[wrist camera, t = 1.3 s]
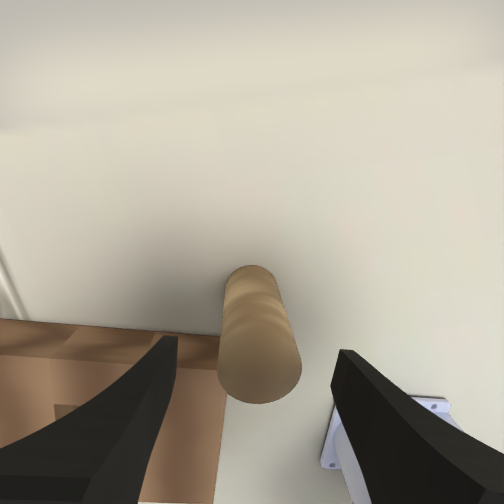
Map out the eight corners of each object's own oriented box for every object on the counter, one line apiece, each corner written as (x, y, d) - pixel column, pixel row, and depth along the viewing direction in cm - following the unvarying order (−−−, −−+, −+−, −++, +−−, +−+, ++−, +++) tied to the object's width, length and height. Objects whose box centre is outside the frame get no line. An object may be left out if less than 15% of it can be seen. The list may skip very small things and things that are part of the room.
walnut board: (231, 337, 21) (229, 371, 17) (216, 457, 24) (213, 504, 21) (-1, 318, 19) (-51, 351, 16) (20, 447, 23) (-18, 496, 19)
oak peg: (280, 268, 19) (308, 337, 11) (272, 314, 20) (294, 406, 13) (228, 262, 19) (221, 329, 11) (223, 310, 20) (213, 401, 12)
